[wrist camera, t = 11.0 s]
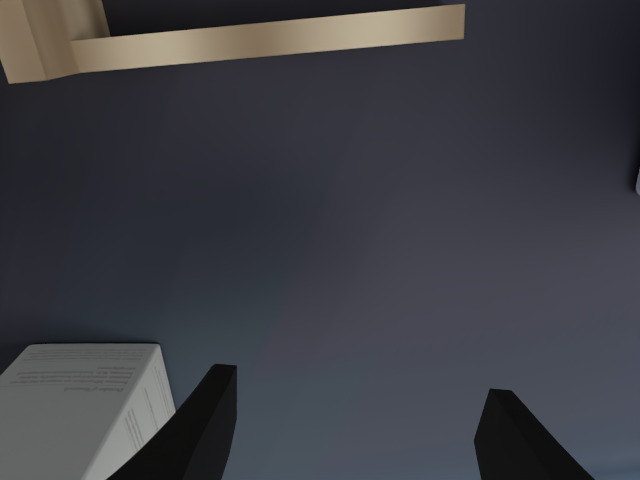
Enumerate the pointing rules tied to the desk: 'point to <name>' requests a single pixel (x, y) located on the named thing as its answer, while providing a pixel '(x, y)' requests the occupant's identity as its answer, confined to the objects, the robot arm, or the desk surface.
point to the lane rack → (192, 37)
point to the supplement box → (80, 409)
